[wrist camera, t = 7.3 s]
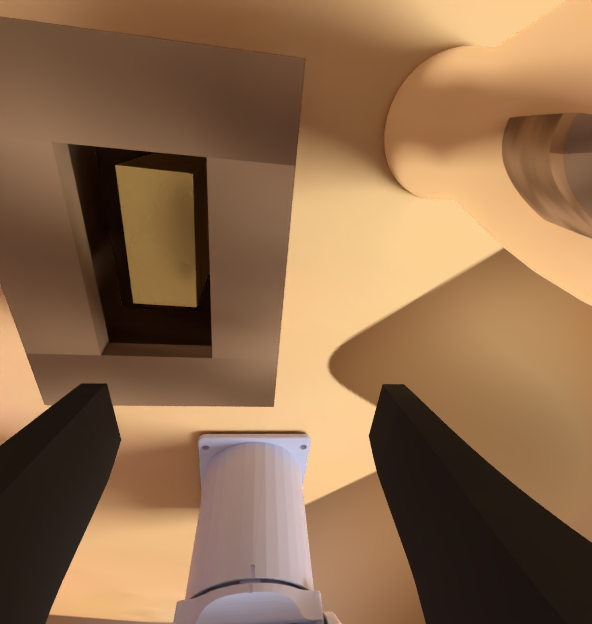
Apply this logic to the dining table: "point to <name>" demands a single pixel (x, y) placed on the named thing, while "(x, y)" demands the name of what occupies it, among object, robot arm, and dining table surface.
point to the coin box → (93, 220)
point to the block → (165, 227)
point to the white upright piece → (509, 141)
